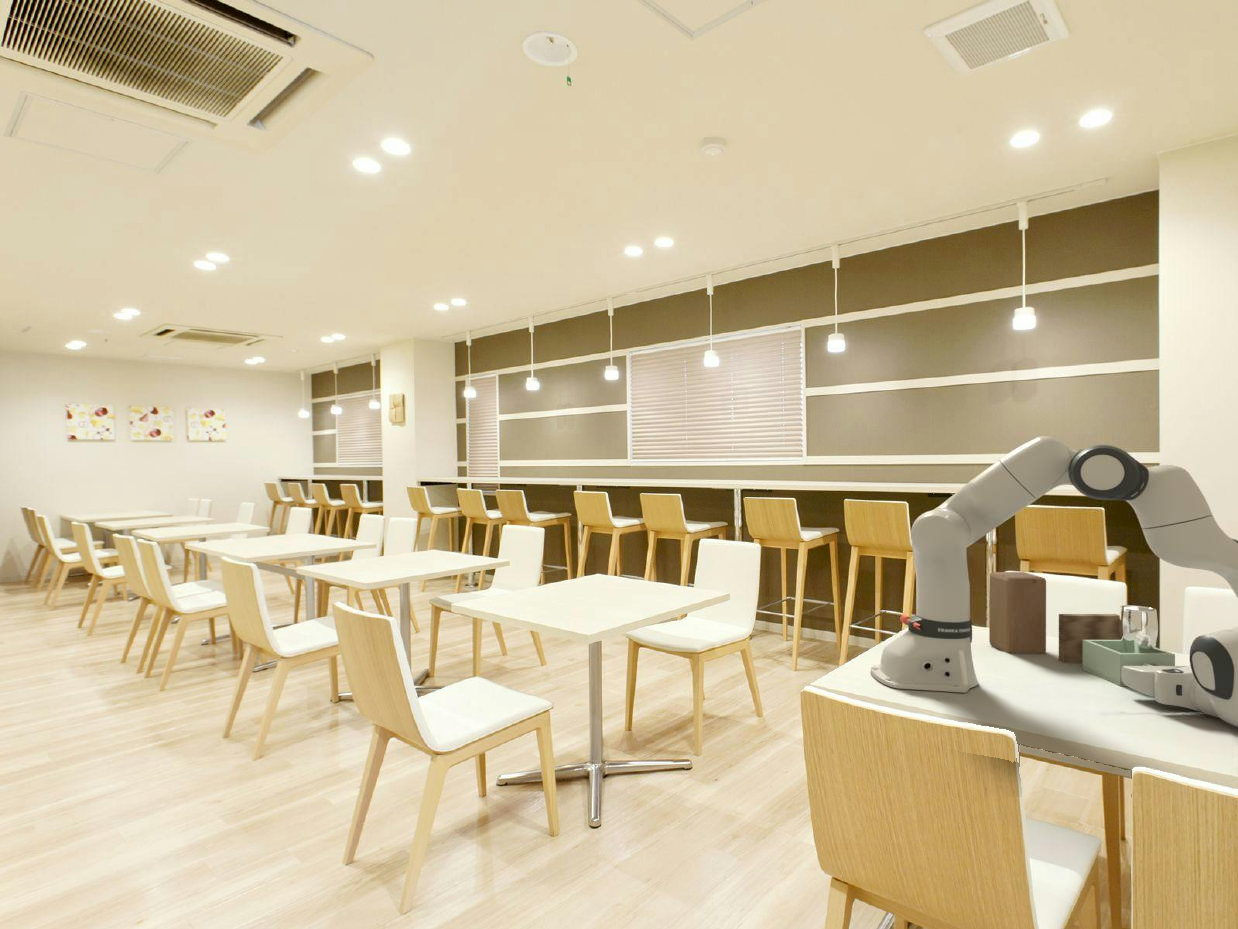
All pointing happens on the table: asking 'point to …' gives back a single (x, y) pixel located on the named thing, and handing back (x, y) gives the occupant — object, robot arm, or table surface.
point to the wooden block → (1017, 612)
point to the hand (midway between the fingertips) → (1149, 667)
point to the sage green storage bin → (1118, 659)
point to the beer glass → (1138, 629)
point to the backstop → (1084, 633)
